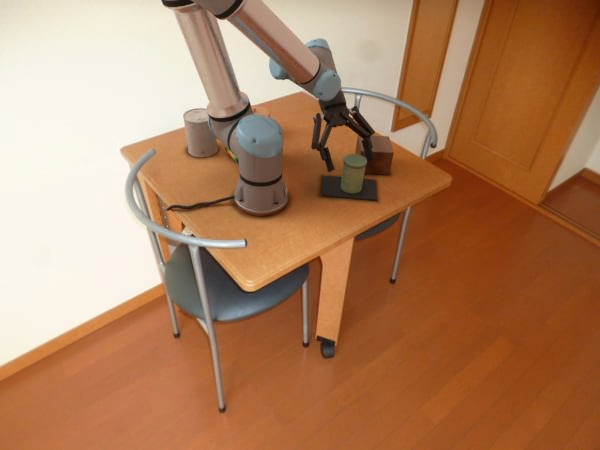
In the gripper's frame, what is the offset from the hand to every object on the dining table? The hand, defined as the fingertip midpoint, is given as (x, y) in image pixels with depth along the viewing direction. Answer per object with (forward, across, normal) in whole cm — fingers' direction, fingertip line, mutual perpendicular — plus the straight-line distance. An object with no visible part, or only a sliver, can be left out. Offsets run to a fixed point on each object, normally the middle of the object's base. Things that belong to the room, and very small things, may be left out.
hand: (351, 165), depth 120 cm
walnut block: (0, -14, -11) cm, 18 cm away
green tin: (+6, -1, -5) cm, 8 cm away
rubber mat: (+6, 0, -6) cm, 8 cm away
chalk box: (-15, +22, -26) cm, 37 cm away
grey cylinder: (-21, +32, -33) cm, 51 cm away
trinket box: (-24, +12, -36) cm, 45 cm away
